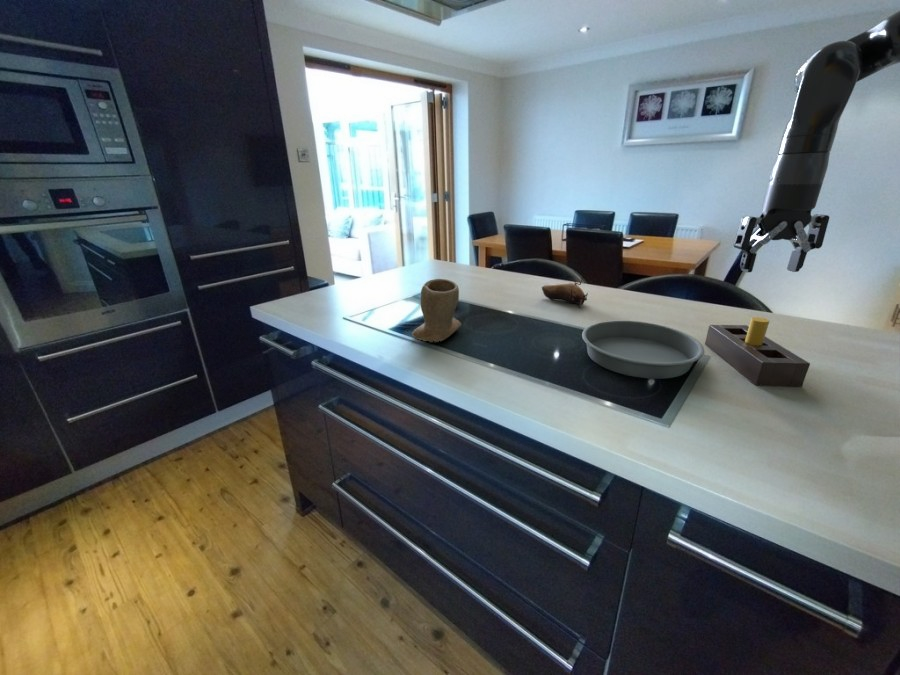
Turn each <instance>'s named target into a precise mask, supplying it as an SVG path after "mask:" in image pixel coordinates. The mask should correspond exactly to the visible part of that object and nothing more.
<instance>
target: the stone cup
mask: <svg viewBox="0 0 900 675" xmlns="http://www.w3.org/2000/svg"><path fill="white" fill-rule="evenodd" d="M419 298H420V310H421V312H422V316H423V321H424V323H422V324H421V325H419V326H418V327H417V328H415V329H414V330H413V331H412V333H411V336H412V338H414V339H416V340H418V339H419V340H418V341H421V340H423V341H422V342H426V341H429V342H428V343H439V341H440V342H442V341H445V340H447V339H448V338H449V337H450V336H452V335H453V334H454V333H455V332H456V331H457V330H458V329H459V328H460V327H461V326H462V322H460V320H458V319H456V318H455V317H454V316H455V312H456V309H457V306H458V303H459V299H460V288H459V285H458V284H457V283H456V282H454V281H452V280H449V279H446V278H433V279H429V280H428V281H425V283H423V285H422V287H421V290H420V297H419ZM433 341H434V342H433Z"/></svg>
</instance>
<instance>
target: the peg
mask: <svg viewBox="0 0 900 675" xmlns="http://www.w3.org/2000/svg"><path fill="white" fill-rule="evenodd" d="M769 324H770V320H769V319H767V318H765V317H759V316H758V317H757V316H755V317H751V318H750V321H749V325H748V326H749V329H748V332H747V336H746V339H745V343H747V344H748V345H757V346H762V344H763V341H764V338H765V337H766V334H767V331H768V327H769Z"/></svg>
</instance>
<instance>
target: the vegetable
mask: <svg viewBox="0 0 900 675" xmlns="http://www.w3.org/2000/svg"><path fill="white" fill-rule="evenodd" d="M583 279H584V276H581V278H578V279H577V280H578V281H579V283H578V282H577V281H575V280H574V282H569V281H567V282H560V283H553V284H544V285H542V286H541V290H542V293H543V295H544V296H545V298H547V299H549V300H553V299H554V300H555V299H556V300H558V301H563V300H564V302H568V303H571V304H576V305H577V306H578V308H581V307H582V305H583V304H584V303H585V301H588V295H589V292H587V293H584V292H585V291H584V290H583V289H582V288H581V287H580V285H582V284H584V283H583V282H582V281H583ZM556 300H555V301H556Z"/></svg>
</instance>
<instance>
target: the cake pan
mask: <svg viewBox="0 0 900 675" xmlns="http://www.w3.org/2000/svg"><path fill="white" fill-rule="evenodd" d="M581 338H582V340H583V341H584V343H585V344H586V350H587V355H588V357H589V358H590V359H591V360H592V361H593V362H594V363H596V364H597V365H598V366H600V367H602V368H604V369H606V370H607V371H611V372H614V373H616V374H617V373H618V374H620V375H623V376H628V377H633V378H640V379H648V380H649V379H650V380H664V379H665V380H666V379H673V378H677V377H680V376H683V375H685V374H686V373H688V372H689V371H690V369H691V367H692V366H693V364H694V363H695V362H696V361H699V360H701V358H703V356H704V355H705V348H704V345H703V343H701V342H700V341H699V340H698V339H697V338H695V337H693V336H692V335H690V334H688V333H686V332H683V331H681V330H679V329H677V328H673V327H669V326H666V325H662V324H657V323H651V322H645V321H638V320H608V321H601V322H597V323H596V322H595V323H593V324H591V325H588V326H587V327H585V328H584V329H583V331H582V334H581Z"/></svg>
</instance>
